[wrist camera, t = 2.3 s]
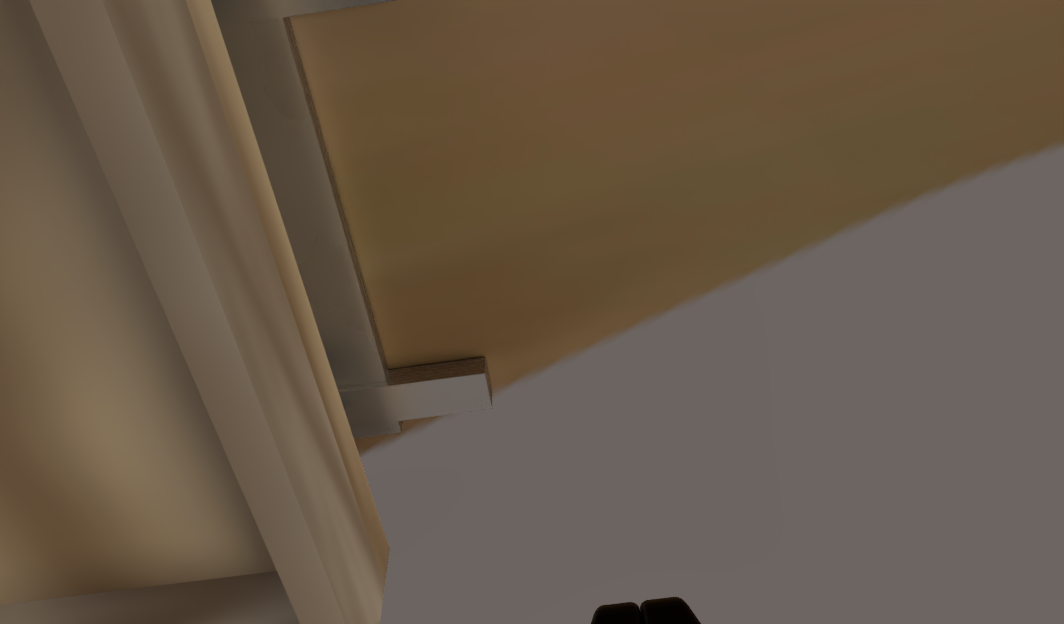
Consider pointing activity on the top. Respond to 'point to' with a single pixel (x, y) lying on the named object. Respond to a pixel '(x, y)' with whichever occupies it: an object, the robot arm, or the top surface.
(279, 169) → the framed panel
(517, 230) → the top surface
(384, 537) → the beige open rectangular box
